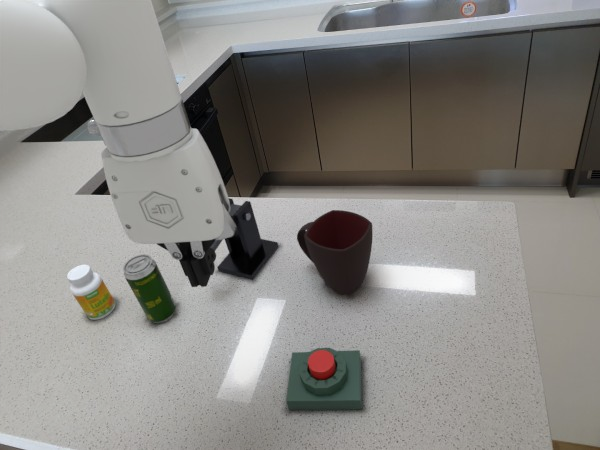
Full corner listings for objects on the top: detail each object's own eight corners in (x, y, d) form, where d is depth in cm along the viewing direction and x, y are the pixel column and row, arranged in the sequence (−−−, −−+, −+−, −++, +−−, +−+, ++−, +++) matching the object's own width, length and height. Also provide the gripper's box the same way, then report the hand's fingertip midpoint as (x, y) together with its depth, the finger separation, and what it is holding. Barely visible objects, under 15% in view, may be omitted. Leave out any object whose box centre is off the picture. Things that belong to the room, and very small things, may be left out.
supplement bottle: (99, 324, 83) (75, 286, 78) (81, 315, 86) (56, 278, 80) (122, 303, 87) (100, 265, 81) (103, 295, 90) (81, 258, 84)
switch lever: (212, 270, 78) (205, 259, 76) (198, 267, 80) (190, 255, 78) (248, 216, 86) (243, 204, 83) (234, 213, 87) (228, 201, 85)
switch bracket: (252, 280, 86) (235, 226, 78) (218, 271, 89) (199, 219, 82) (278, 246, 92) (265, 194, 85) (245, 239, 96) (230, 188, 88)
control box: (361, 359, 68) (358, 342, 66) (361, 409, 62) (359, 392, 59) (294, 361, 70) (289, 344, 67) (289, 410, 63) (283, 393, 61)
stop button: (336, 357, 65) (334, 349, 64) (335, 379, 62) (333, 371, 61) (310, 358, 65) (308, 350, 64) (308, 380, 62) (306, 372, 61)
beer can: (169, 297, 86) (145, 249, 79) (182, 312, 82) (159, 262, 75) (143, 314, 84) (116, 265, 76) (155, 329, 80) (128, 280, 73)
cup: (353, 311, 76) (345, 256, 68) (290, 282, 84) (277, 230, 77) (385, 274, 81) (380, 220, 74) (322, 250, 89) (313, 199, 82)
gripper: (49, 155, 39) (128, 304, 50) (215, 138, 37) (261, 300, 47) (90, 118, 45) (153, 259, 56) (235, 102, 43) (272, 253, 53)
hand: (202, 277), depth 52 cm, fingers closed
